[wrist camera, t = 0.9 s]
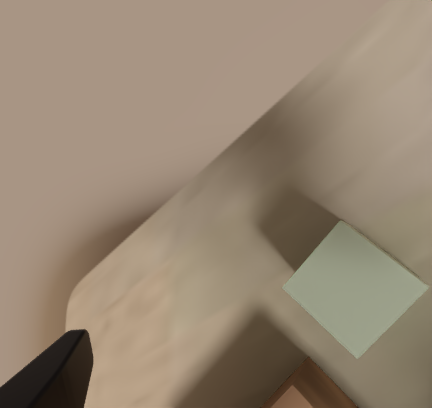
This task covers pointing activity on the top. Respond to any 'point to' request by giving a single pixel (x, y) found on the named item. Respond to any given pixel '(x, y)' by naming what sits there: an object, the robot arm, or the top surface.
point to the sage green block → (353, 288)
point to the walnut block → (309, 390)
